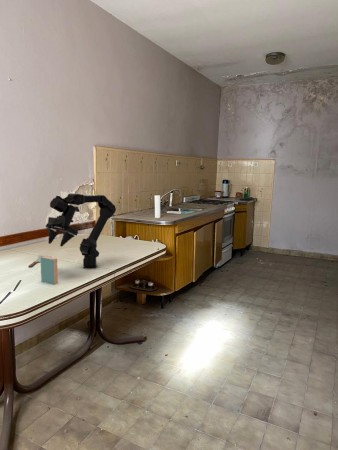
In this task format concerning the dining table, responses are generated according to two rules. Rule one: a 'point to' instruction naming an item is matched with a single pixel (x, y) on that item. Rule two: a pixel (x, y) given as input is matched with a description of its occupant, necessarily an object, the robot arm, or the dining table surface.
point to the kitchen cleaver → (37, 261)
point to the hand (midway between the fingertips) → (55, 244)
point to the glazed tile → (49, 270)
